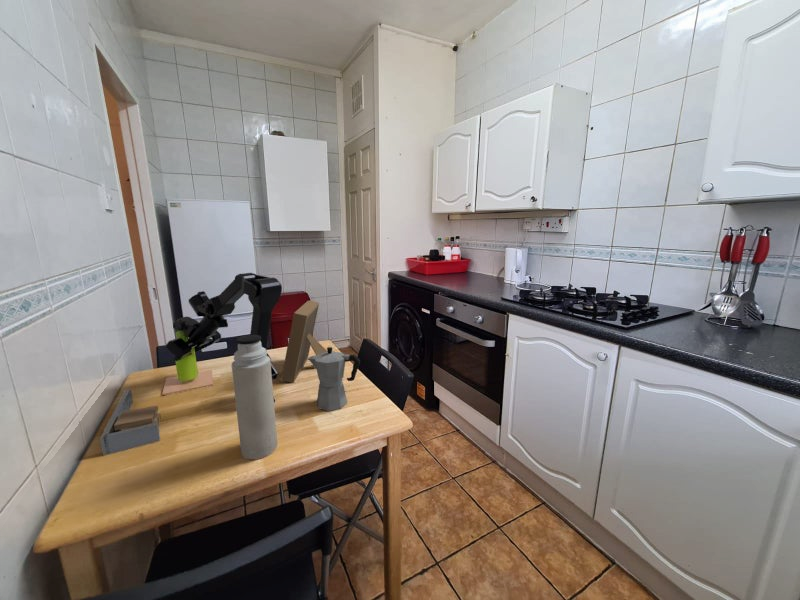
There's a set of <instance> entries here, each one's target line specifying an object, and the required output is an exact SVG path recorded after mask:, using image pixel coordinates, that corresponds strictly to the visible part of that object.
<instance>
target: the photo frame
mask: <svg viewBox="0 0 800 600" xmlns="http://www.w3.org/2000/svg"><path fill="white" fill-rule="evenodd" d="M319 305H320V302H316V301H313V300H307V301H306V302H305V303H303V304H302V305H301V306H300V307H299V308H298V309H297V310H296V311H295V312H293V317H292V322H291V328H290V331H289V338H288V342H287V347H286V353H285V356H284V357H285V358H284V363H283V369H282V372H281V378H280V381H282V382H286V383H287V382H288V383H292V384H293V383H295V381H296V380H297V378H298V376H299V374H300V373H301V372H302V369H303V368H304V366H305V364H306V363H307V361H309V360H308V358H309V355H310V354H309V353H310V349H312V350H313V352H314V355H319V354H321V353H325V352H328V351H327V348H325V347H324V346H323V345H322V344H321V343H320V342H319V341H318V340H317V339H316V338H315V337H314V336H313V335H314V330H315V325H316V322H317V315H318V311H319Z"/></svg>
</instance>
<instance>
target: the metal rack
mask: <svg viewBox="0 0 800 600" xmlns="http://www.w3.org/2000/svg"><path fill="white" fill-rule="evenodd" d="M133 403H134V400H133V395H132V389H131V388H126V389H125V390H124V391H123V393H122V395H121V397H120V399H119V400H118V402H117V405H116V406H115V409H114V410H113V413H112V415H111V416H110V418H109V420H108V422H107V424H106V426H105V428H104V429H103V432H102V434H101V436H100V437H99V440H100V446H101V450H102V455H103V456H107V455H112V454H114V453H115V454H116V453H119V452H123V451H126V450H129V449H134V448H138V447H142V446H145V445H149V444H155V443H156V442H160V441H161V435H160V434H161V433H160V428H159V427H160V426H159V427H158V422H157V423H153V424H148V425H144V426H140V427H136V428H131V429H127V430H123V431H119V430H116V431H115V430H114V424H115V423H116V421H117V420H118V418H119V417H120V415H121V414H122V412H126V411H131V407H132V405H133Z"/></svg>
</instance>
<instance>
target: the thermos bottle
mask: <svg viewBox="0 0 800 600" xmlns="http://www.w3.org/2000/svg"><path fill="white" fill-rule="evenodd" d="M260 340H261V336H259V335H250V334H247V335H242V336H240V337H238V338H236V344H237V350H236V351H235V352H234V353H233V356H234V357H233V360H234V361H232V362H231V373H232V379H233V380H232V381H233V388H234V389H233V390H234V400H235V408H236V409H235V410H236V417H237V426H238V434H239V436H238V437H239V443H240V444H239V445H240V453H241V456H242V457H243V459H246V460H249V459H255V460H259V458H261V459H263V457H264V458H266V457H268V456H270V455H271V454H273V453H272V452H273V451H274V450H275V451H276V449H277V448H278V436H277V434H278V433H277V424H276V423H277V422H276V411H275V410H276V409H275V402H274V399H275V397H274V388H273V380H272V374H271V364H272V362H271V363H270V358H271V357H270V358H269V357H268V356H267V355H266V354H267V353H268V351H266V349H265V348H263V347H262V345H261V341H260ZM273 397H274V398H273ZM275 451H274V452H275ZM265 456H266V457H265Z"/></svg>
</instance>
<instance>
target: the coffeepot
mask: <svg viewBox="0 0 800 600" xmlns="http://www.w3.org/2000/svg"><path fill="white" fill-rule="evenodd" d="M326 350H327V351H328V352H325V353H321V354H319V355H316V354H314V355H312V356H310V357H309V356H308V360H307V361H309V362H310V364H312V366H313V367H314V368H315V370H316V372H317V377H318V380H319V384H318V390H317V399H316V403H317V407H318V409H320V410H321V411H326V412H332V411H339V410H340V409H342V408H343V407H345V406H346V405H347V403H348V398H347V394H346V390H345V386H344V382H343V379H344V377H345V366H346V363H347V362H354V363H353V365H352V370H351V373H350V377H347V378H346V380H347V381H348V382H353V381H355V378H356V375H357V372H358V369H359V366H360V363H361V360H360V359H359V357H357V356H356V354H345V353H344V352H340V351H333V347H331V346H327V348H326Z"/></svg>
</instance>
